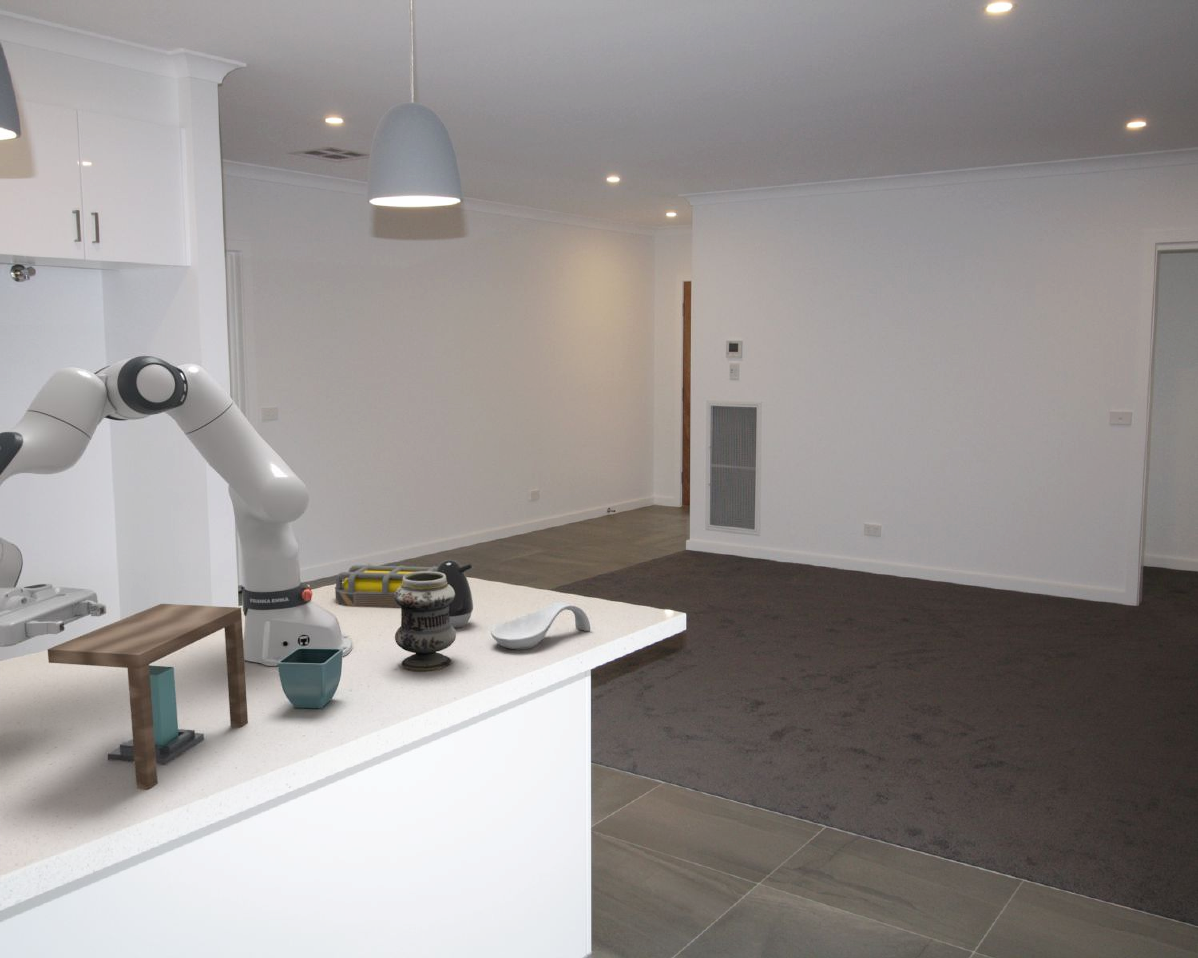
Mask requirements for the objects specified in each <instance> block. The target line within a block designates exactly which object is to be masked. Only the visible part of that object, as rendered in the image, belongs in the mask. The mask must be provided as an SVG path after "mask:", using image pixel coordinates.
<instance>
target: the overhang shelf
mask: <svg viewBox="0 0 1198 958" xmlns="http://www.w3.org/2000/svg"><path fill="white" fill-rule="evenodd" d="M242 618H243V617H242V607H237V606H236V607H234V606H216V605H215V606H214V605H212V606H211V605H198V604H197V605H193V604H178V603H177V604H175V603H174V604H173V603H159V604H156V605H154V606H153V607H149V608H147V609H145V610H142V611H140V612H137V613H135V614H132V615H130V616H127V617H124V618H122V619H120V620H117V621H115V622H112V623H109V624H107V625H105V626H103V627H100V628H98V629H94V630H91V631H90V632H87V633H85V634H82V635H80V636H77V637H74V638H73V639H70V640H67V641H65V642H62V643H59V644H57V645H55V646H53V647H49V648H47V659H48V663H49V664H62V665H81V666H94V667H106V668H108V667H109V668H123V669H124V668H125V669H127V679H128V690H129V694H128V695H129V703H130V706H129V707H130V716H131V717H130V718H131V719H130V720H131V730H132V731H131V732H132V733H131V734H132V739H133V747H134V760H135V762H134V771H135V783H136V784H135V785H136V789H142V790H150V789H152V788H153V787H154V786H156V785H158V770H157V769H158V768H157V767H158V766H157V764H156V754H155V740H154V726H153V712H152V699H151V685H150V671H149V665H152V663H154V662H156V661H159V660H161V659H163V658H165V657H167V656H169V655H171V654H173V653H176V652H177V651H179V650H181V649H183V648H186V647H188V646H189V645H191V644H194V643H195V642H196V643H197V642H198V641H200V640H202V639H204V638H207V637H208V636H210V635H212V634H214V633H216V632H219V631H221V630H223V629H224V638H225V639H224V642H225V655H226V657H225V658H226V659H225V660H226V673H227V689H228V690H227V691H228V706H229V707H228V708H229V721H230V727H234V728H235V727H237V728H242V727H244V726H245V725H247V724H249V720H248V719H249V717H248V703H247V688H246V687H247V684H246V682H247V681H246V668H245V667H246V665H245V660H244V648H243V637H244V631H243V619H242Z"/></svg>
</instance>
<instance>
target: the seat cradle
mask: <svg viewBox="0 0 1198 958" xmlns="http://www.w3.org/2000/svg"><path fill="white" fill-rule="evenodd" d="M204 734H205V733H203V732H202V733H199V732H196V730H194V729H184V728H183V729H182V728H178V735H179V736H178V737H177V738H175V739H174V740H172V741H170V742H169V743H167V744H165V745H164V746H161V745H155V754H156V765H164V766H166V765H168V763H171V762H172V761H173V760H175V759H177V758H178V757H179V756H181V755H182V754H184V753H186V752H187V751H189V750H190V749H192V748H194V747H195V746H196V745H198V744H199V743H201V742H203V741H204V740H205V735H204ZM107 760H108V761H116V762H117V761H118V762H119V761H120V762H129V763H135V760H134V747H133V738H132V739H130V740H129V741H127V742H126V741H125V742H124V741H123V742H122V743H120V744H119V746H118V747H117V748H114V749H113V750H111V751H109V752H108V753H107Z"/></svg>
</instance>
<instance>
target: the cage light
mask: <svg viewBox="0 0 1198 958" xmlns="http://www.w3.org/2000/svg"><path fill="white" fill-rule="evenodd" d="M437 568H438V566H436V565H433V566H432V567H431V566H406V565H398V566H397V565H395V566H394V565H372V564H370V563H369V564H366V565H362V564H356V565H355V564H354V565H351V567H349V569H348V571H341V572H339V573H338V574H337V575H336V577H335V586H334V591H335V592H334V593H335V602H336V603H337V604H338V605H341V606H345V607H359V608H387V609H388V608H390V609H401V606H400V605H398V604H397V603H396V601H395V597H394V596H395V592H396V590H397V589H398V588H399V587H400V586H401V585H402V581H403V576H404V575H406V574H409V573H413V572H419V571H434V572H435V571H436V569H437ZM343 579H344V581H343Z"/></svg>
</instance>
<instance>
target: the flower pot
mask: <svg viewBox="0 0 1198 958" xmlns="http://www.w3.org/2000/svg"><path fill="white" fill-rule="evenodd" d="M342 655H343V649H335V648H334V649H333V648H297V649H295V650H294V651H292V652H291V653H290V654H288V655H287V656H286V657H284V658H283V659H281V660H280V661H278V662H277V665H276V666H277V670H278V675H279V680H280V685H281V689H282V691H283V693H284V695H285V698H286V699H287V700H288V701H289V703H291V705H292V706H293V707H294V708H297V709H299V708H301V709H322V708H323V707H324V706H326V705H327V704H328V703H329V702H330V701H331V700H332V699H333V698H334V696H335V693H336V692H337V689H338V687H339V685H340V681H341V677H342V667H343V656H342Z"/></svg>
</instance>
